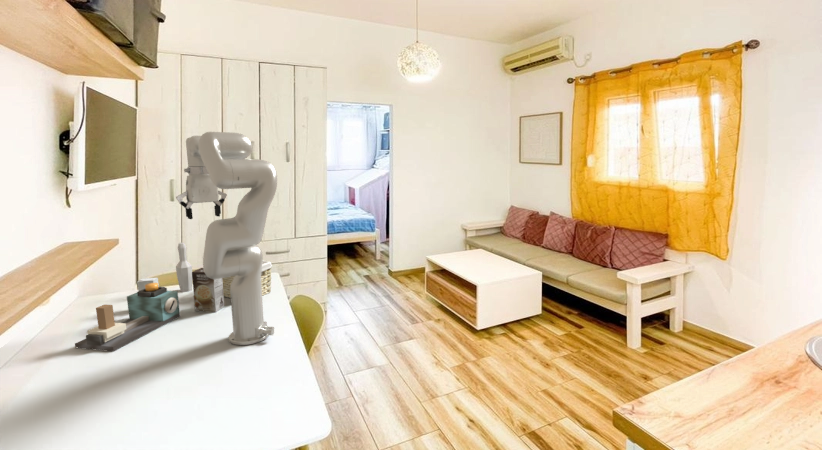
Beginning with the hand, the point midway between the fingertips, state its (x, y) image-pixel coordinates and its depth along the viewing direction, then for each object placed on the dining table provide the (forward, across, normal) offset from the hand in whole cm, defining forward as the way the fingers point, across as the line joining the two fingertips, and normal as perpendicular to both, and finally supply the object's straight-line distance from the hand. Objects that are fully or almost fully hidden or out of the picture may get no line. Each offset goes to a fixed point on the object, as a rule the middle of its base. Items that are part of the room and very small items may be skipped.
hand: (204, 217), depth 149 cm
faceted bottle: (+38, +2, +36) cm, 52 cm away
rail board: (+37, -26, +2) cm, 45 cm away
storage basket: (+38, +17, +13) cm, 43 cm away
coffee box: (+38, 0, +4) cm, 38 cm away
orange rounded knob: (+26, -18, +7) cm, 32 cm away
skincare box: (+38, -16, +22) cm, 46 cm away
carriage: (+35, -33, -3) cm, 49 cm away
